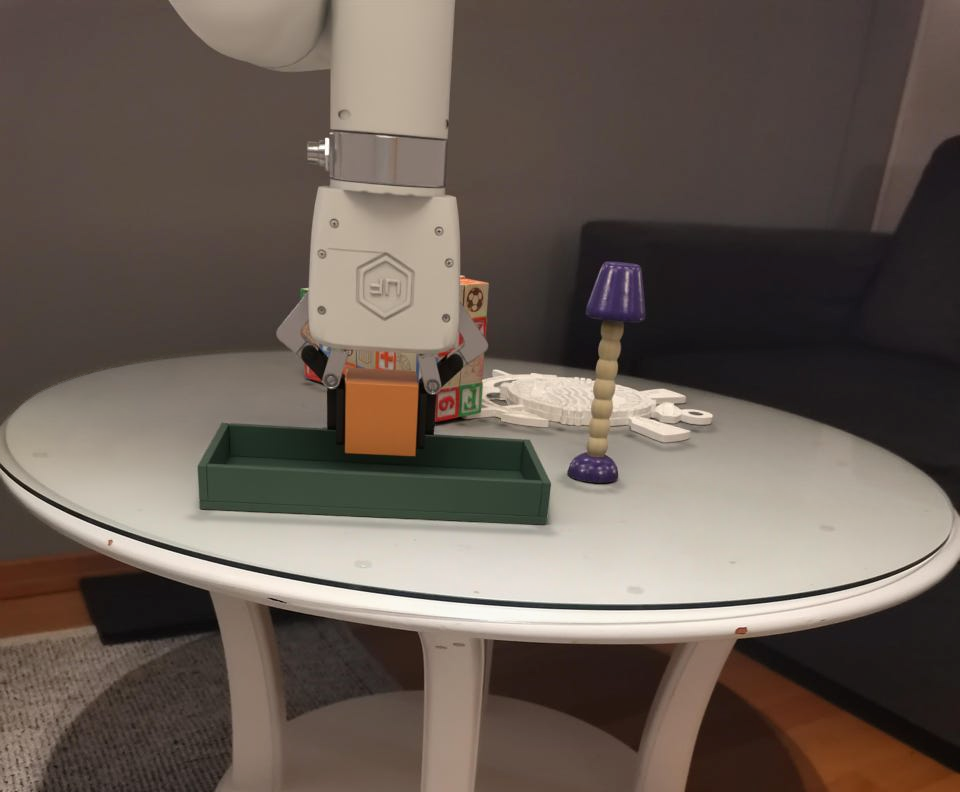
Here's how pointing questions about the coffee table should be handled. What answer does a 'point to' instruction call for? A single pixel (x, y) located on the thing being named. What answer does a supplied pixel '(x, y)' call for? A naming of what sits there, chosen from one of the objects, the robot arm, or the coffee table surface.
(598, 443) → the toy lamp
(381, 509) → the tray
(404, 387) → the orange block
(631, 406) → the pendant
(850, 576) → the coffee table surface
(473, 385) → the stack of blocks
